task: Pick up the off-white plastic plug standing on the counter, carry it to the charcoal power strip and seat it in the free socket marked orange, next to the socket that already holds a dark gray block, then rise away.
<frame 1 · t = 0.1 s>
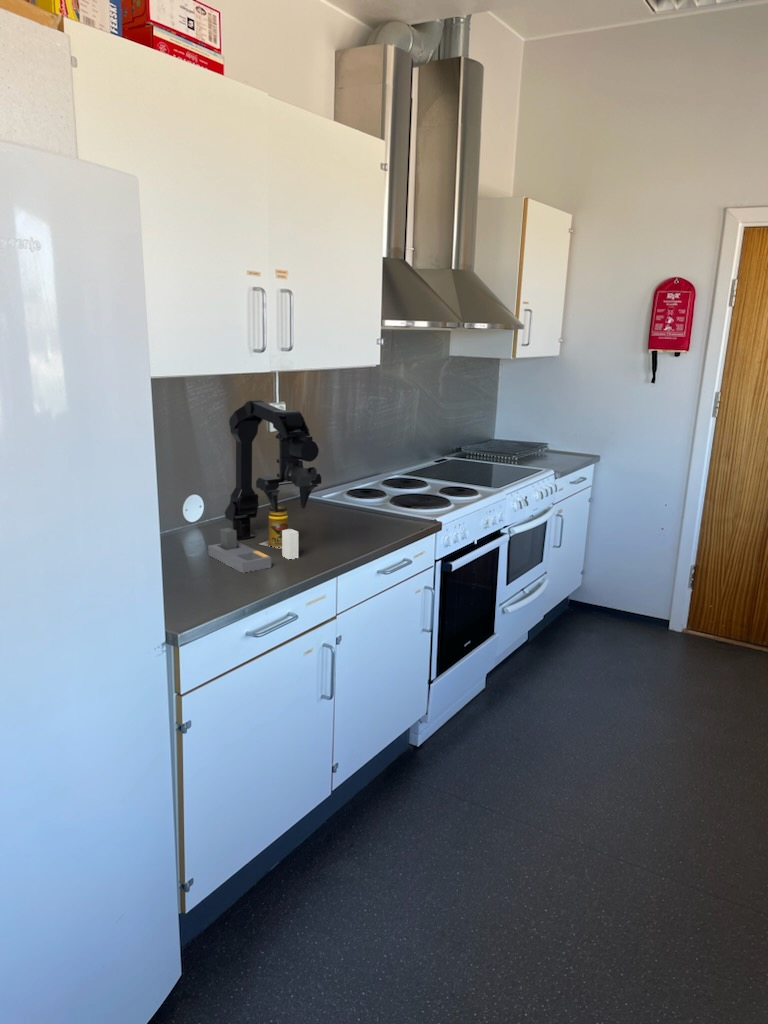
hand: (289, 510, 212), 15 cm above the worktop, tool pointing down, fingers open, 9 cm apart
condiment: (276, 544, 230), on the worktop
plug: (290, 557, 217), on the worktop
dark gray block: (229, 556, 216), resting in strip
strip: (239, 561, 212), on the worktop
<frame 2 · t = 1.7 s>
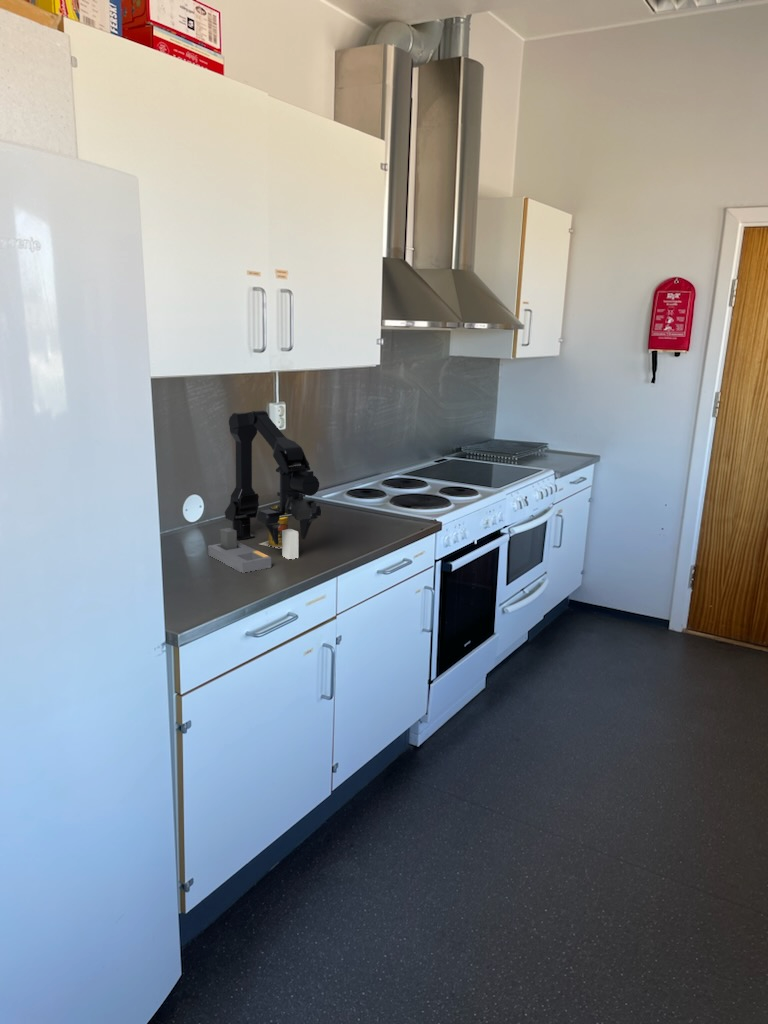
hand: (290, 541, 216), 5 cm above the worktop, tool pointing down, fingers open, 9 cm apart
nothing on the worktop moved.
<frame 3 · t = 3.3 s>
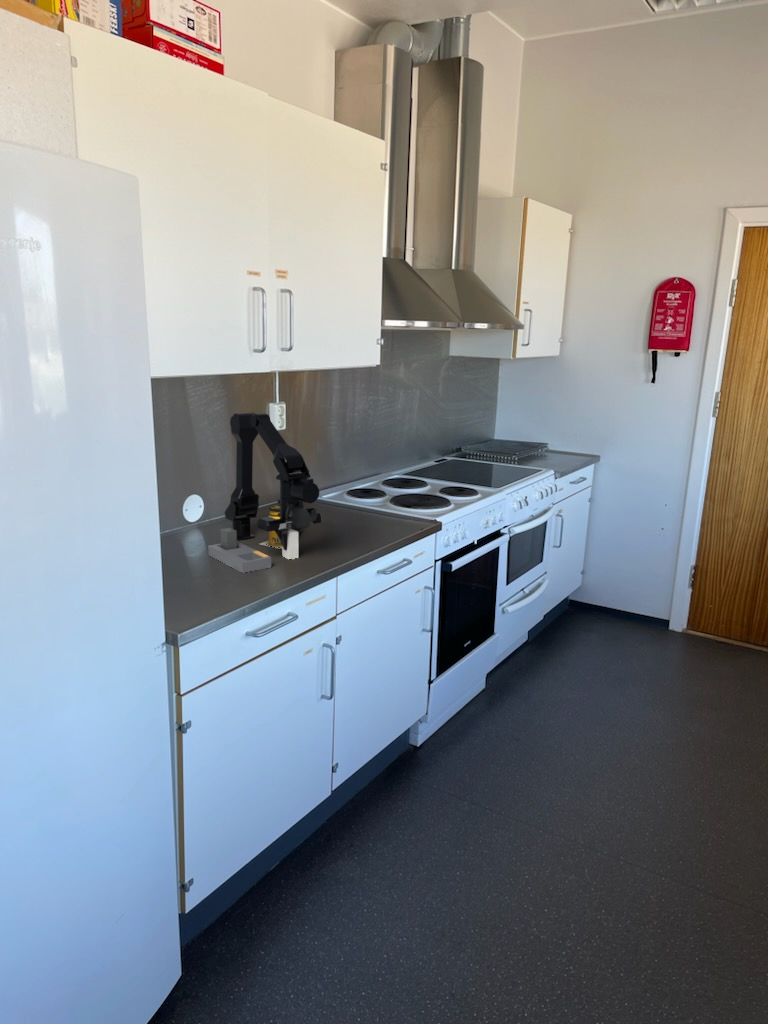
hand: (290, 548, 216), 3 cm above the worktop, tool pointing down, fingers closed on plug, 3 cm apart
plug: (290, 557, 217), on the worktop, touching gripper
everything else where it was.
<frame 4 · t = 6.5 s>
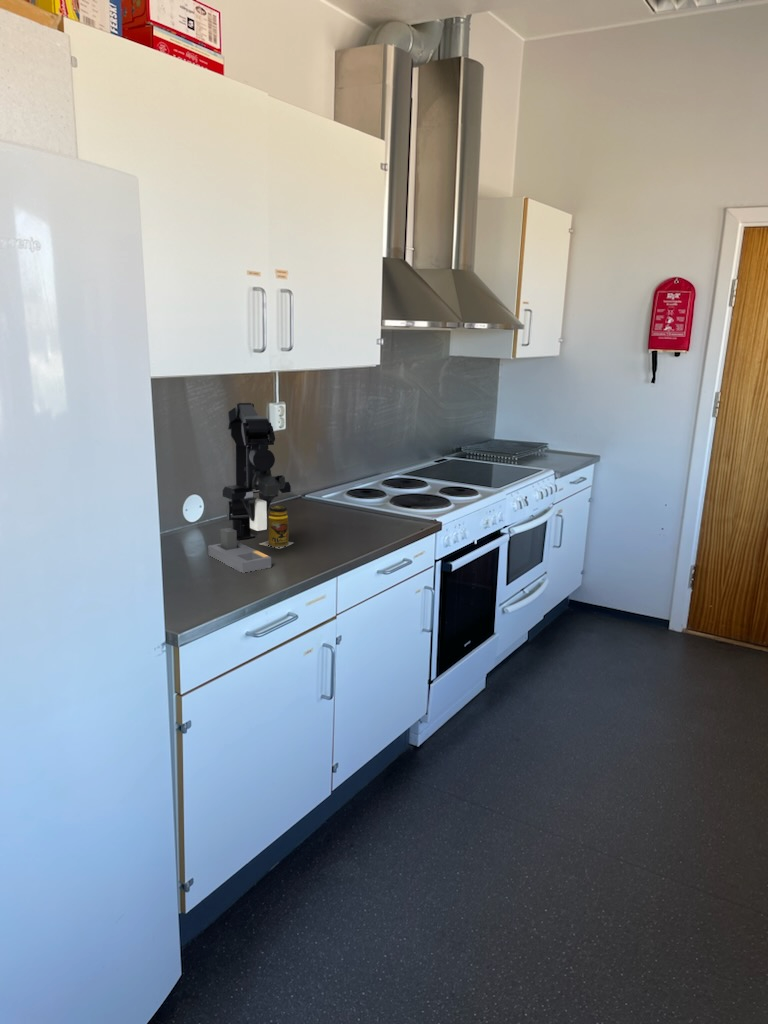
hand: (258, 519, 206), 13 cm above the worktop, tool pointing down, fingers closed on plug, 3 cm apart
plug: (258, 528, 207), point 11 cm above the worktop, touching gripper
everything else where it was.
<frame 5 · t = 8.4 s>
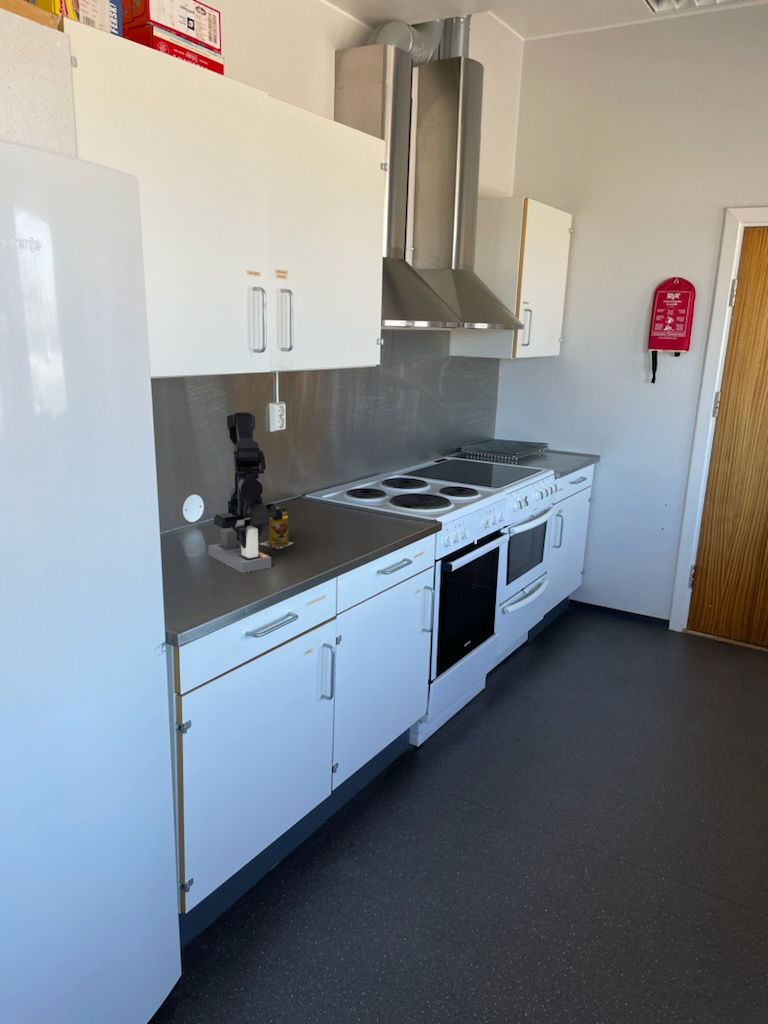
hand: (249, 546, 206), 6 cm above the worktop, tool pointing down, fingers closed on plug, 3 cm apart
plug: (249, 555, 207), point 3 cm above the worktop, touching gripper
everything else where it was.
when the fingers open (4 cm above the worktop, at t = 9.7 s): plug drops 2 cm, resting in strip.
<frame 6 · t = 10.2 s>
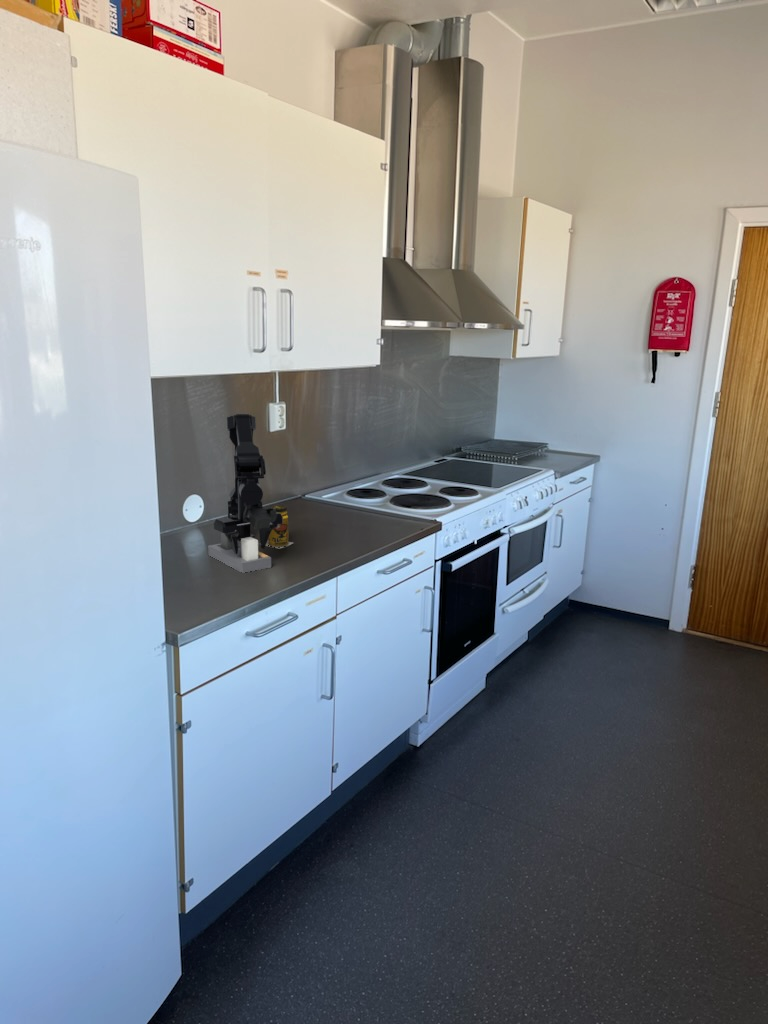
hand: (249, 551, 206), 4 cm above the worktop, tool pointing down, fingers open, 8 cm apart
plug: (250, 566, 207), resting in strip
everything else where it was.
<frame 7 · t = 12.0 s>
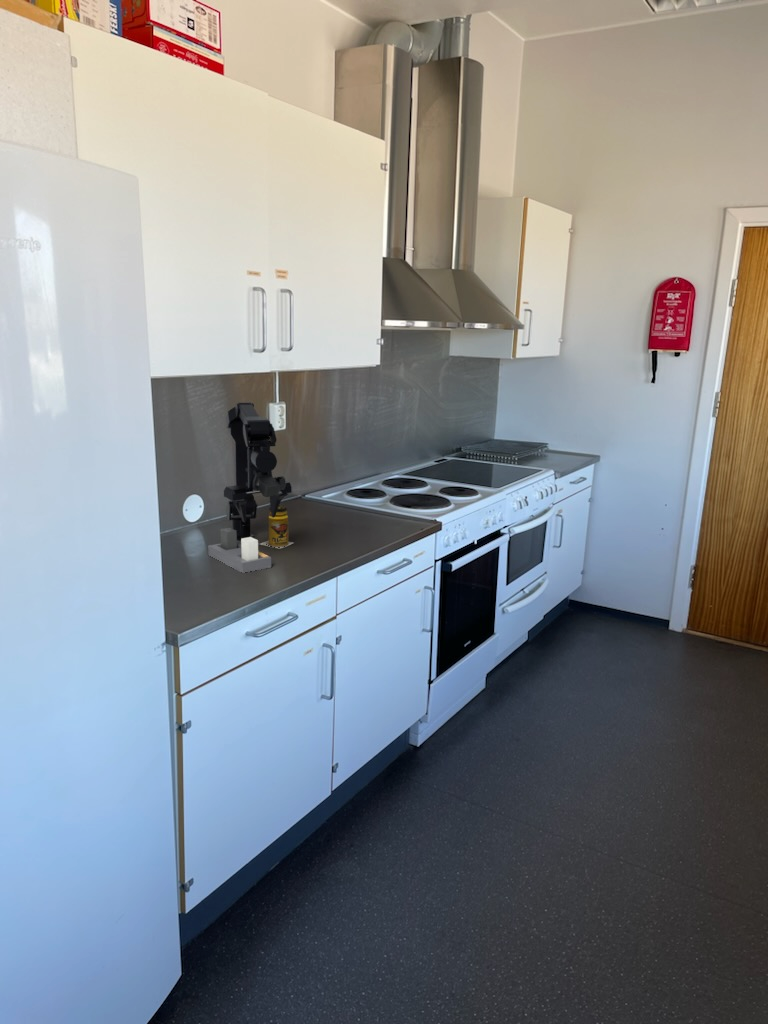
hand: (258, 519, 209), 13 cm above the worktop, tool pointing down, fingers open, 9 cm apart
nothing on the worktop moved.
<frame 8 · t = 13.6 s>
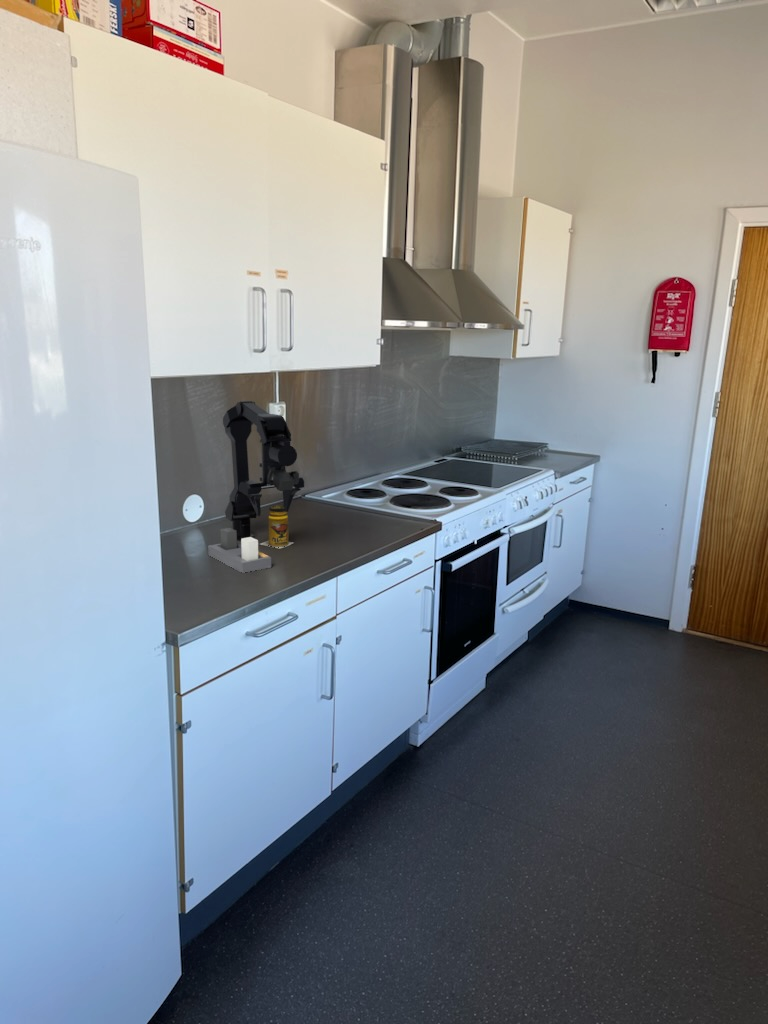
hand: (272, 513, 213), 13 cm above the worktop, tool pointing down, fingers open, 9 cm apart
nothing on the worktop moved.
at the end: plug 0.0 cm from the target spot on the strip, point 0.0 cm above the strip's base; plug tilted 0°; the gripper is holding nothing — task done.
